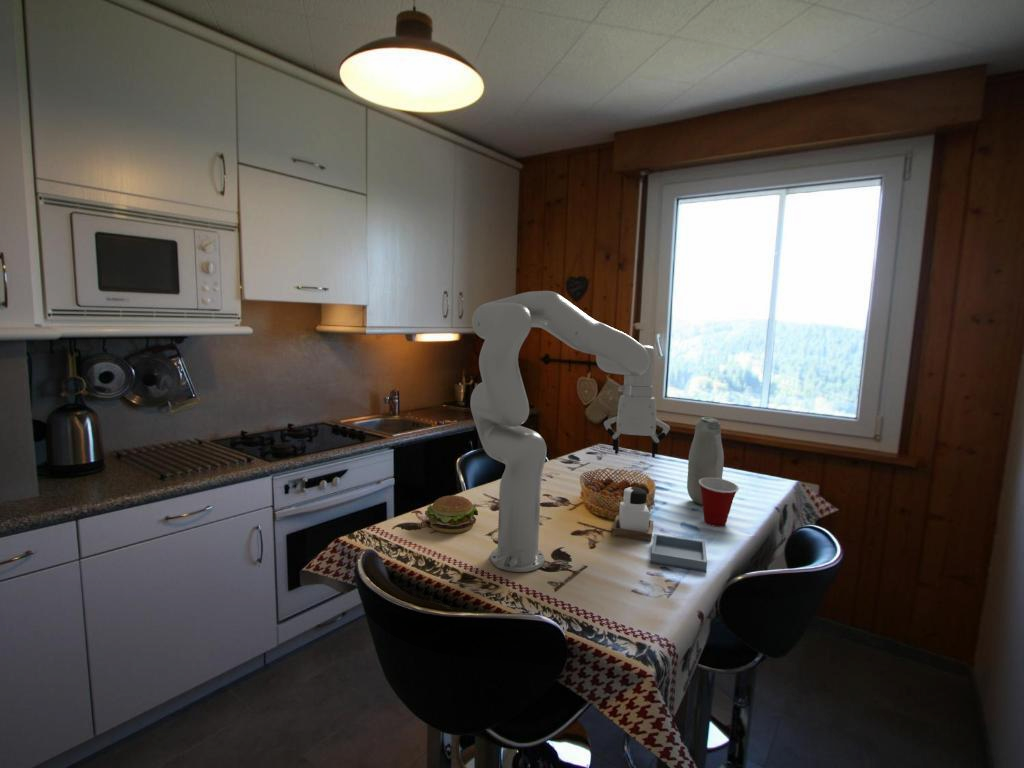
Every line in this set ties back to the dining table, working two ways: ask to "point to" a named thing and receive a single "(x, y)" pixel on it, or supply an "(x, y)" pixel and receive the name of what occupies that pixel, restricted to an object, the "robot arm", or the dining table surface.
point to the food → (451, 514)
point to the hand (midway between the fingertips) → (634, 454)
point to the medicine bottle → (634, 510)
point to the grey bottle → (704, 456)
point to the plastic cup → (717, 499)
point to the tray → (679, 553)
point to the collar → (632, 532)
